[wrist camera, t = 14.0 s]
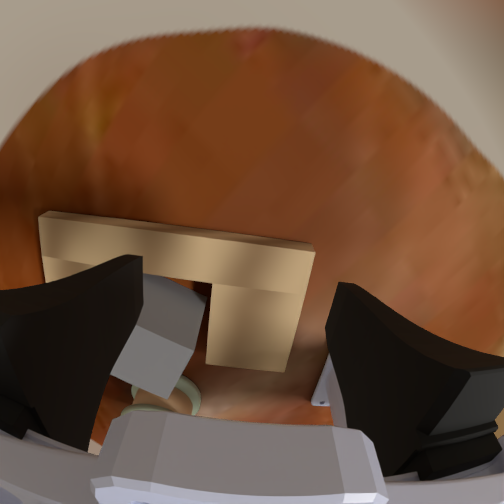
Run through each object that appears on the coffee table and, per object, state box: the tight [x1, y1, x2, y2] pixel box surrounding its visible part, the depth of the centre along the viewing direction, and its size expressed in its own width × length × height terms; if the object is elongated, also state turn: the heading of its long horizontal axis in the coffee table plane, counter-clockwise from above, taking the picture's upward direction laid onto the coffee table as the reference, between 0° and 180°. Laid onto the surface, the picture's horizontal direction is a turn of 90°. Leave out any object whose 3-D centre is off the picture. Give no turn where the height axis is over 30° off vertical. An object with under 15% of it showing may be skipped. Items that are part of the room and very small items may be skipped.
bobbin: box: [120, 374, 201, 416], centre depth 24 cm, size 6×6×5 cm
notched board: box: [38, 211, 315, 372], centre depth 21 cm, size 19×10×2 cm, turn 82°
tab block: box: [110, 273, 207, 400], centre depth 20 cm, size 5×5×6 cm
